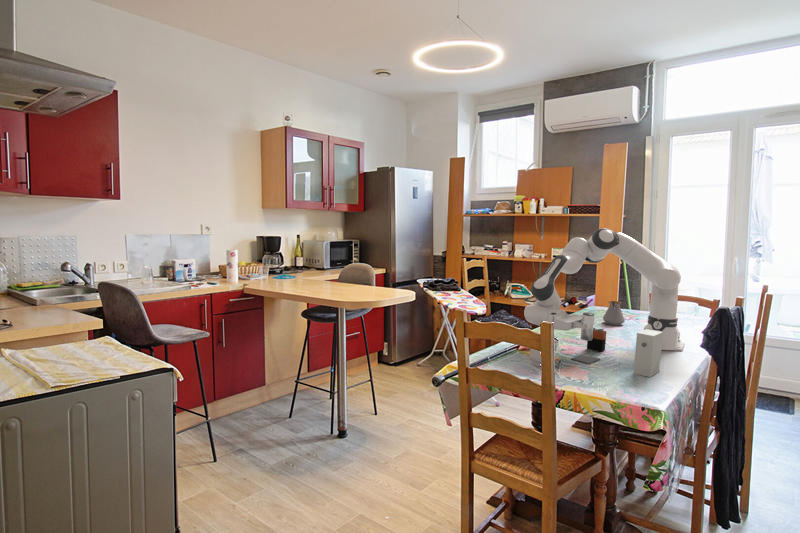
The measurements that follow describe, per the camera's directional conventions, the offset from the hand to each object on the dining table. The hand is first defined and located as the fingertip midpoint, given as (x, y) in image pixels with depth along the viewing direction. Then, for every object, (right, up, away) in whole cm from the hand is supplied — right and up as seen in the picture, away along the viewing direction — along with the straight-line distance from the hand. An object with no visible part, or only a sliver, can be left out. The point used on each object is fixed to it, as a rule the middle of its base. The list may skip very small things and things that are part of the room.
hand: (589, 325), depth 194 cm
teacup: (-22, -15, -5) cm, 27 cm away
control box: (+17, -17, -12) cm, 27 cm away
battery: (+10, -14, +18) cm, 25 cm away
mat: (-1, -15, +2) cm, 15 cm away
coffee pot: (+41, -9, +69) cm, 81 cm away
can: (-1, -6, +1) cm, 6 cm away
